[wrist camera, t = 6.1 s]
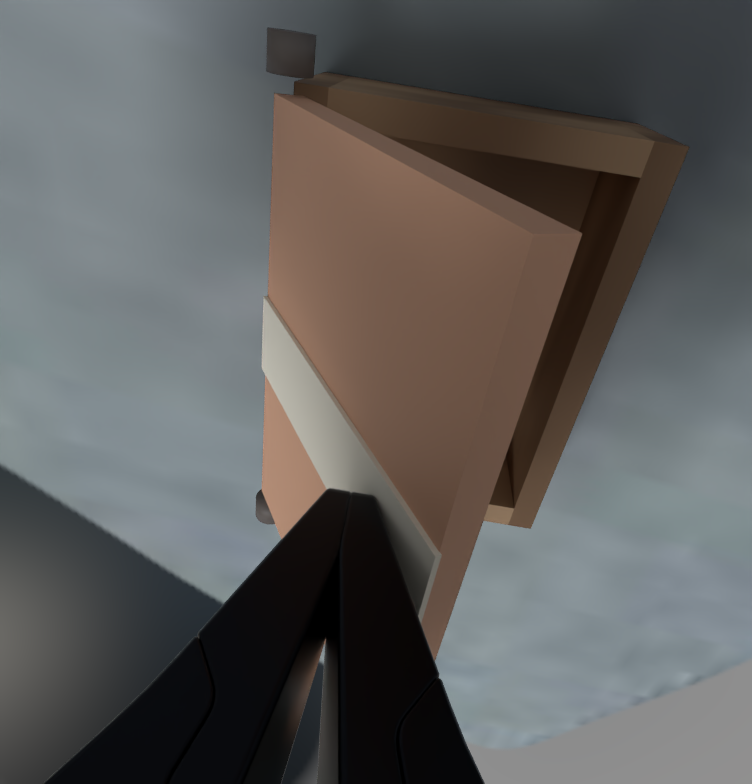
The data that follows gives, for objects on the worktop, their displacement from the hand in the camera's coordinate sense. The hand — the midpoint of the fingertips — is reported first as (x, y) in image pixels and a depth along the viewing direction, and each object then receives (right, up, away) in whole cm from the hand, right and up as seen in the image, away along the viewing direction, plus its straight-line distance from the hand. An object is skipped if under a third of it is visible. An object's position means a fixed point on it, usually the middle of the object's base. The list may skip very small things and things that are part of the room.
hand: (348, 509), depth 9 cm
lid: (0, +1, +2) cm, 2 cm away
